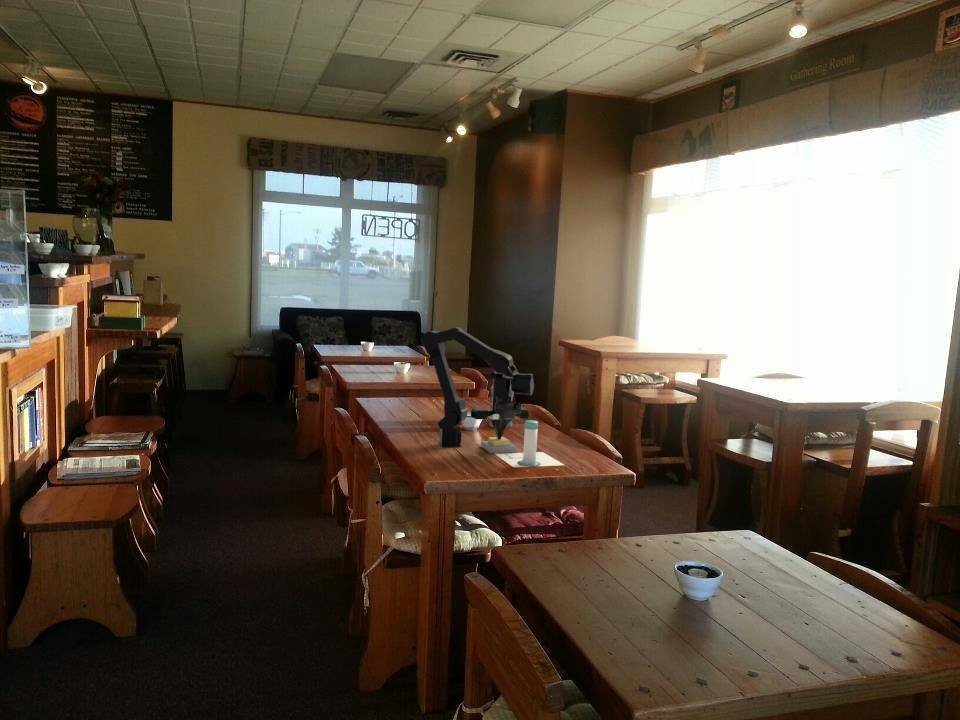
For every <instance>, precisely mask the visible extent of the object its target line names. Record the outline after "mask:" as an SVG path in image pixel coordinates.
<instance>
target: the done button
mask: <svg viewBox="0 0 960 720" xmlns="http://www.w3.org/2000/svg"><path fill="white" fill-rule="evenodd" d="M487 441H488V443H489V444H491V445H492V446H509V444H510V443H511V441H510V440H509V439H508V438H506V437H504V436H502V437H501V439H497V436H494V437H493V436H490V437H488V440H487Z"/></svg>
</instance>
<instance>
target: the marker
mask: <svg viewBox="0 0 960 720" xmlns="http://www.w3.org/2000/svg"><path fill="white" fill-rule="evenodd" d="M538 427H539V421H538V420H532V419H531V420H529V419H528V420H527V419H526V420H524V432H523V433H524V434H523V435H524V436H523V446H522V447H523V448H522V450H523V451H522V453H523V463H524V464H528V465H534V464H536V452H537V447H538V446H537V443H538V430H539V429H538Z"/></svg>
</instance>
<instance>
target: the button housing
mask: <svg viewBox="0 0 960 720" xmlns="http://www.w3.org/2000/svg"><path fill="white" fill-rule="evenodd" d="M488 441H489V440H482V441H481V445H480V446H481V448H483V449H484V450H485V451H487V452H488V454H501V453H517V445H515V444H514V443H512V442H510V444H509V446H492V445H491V444H489V443H488Z"/></svg>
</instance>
